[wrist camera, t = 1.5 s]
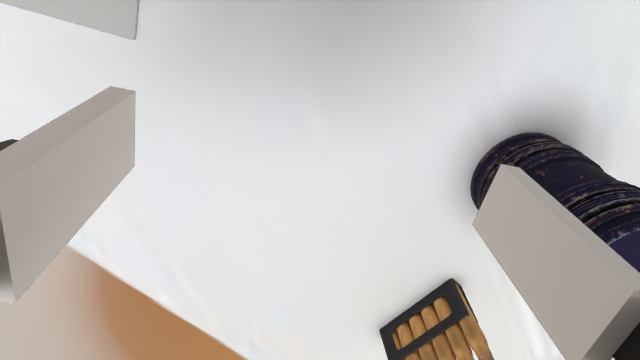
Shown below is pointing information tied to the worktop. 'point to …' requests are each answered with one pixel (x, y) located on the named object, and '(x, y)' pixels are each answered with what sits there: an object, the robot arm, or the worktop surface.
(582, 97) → the worktop surface
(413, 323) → the ammunition clip
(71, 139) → the robot arm
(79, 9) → the mat
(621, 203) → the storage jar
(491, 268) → the worktop surface
